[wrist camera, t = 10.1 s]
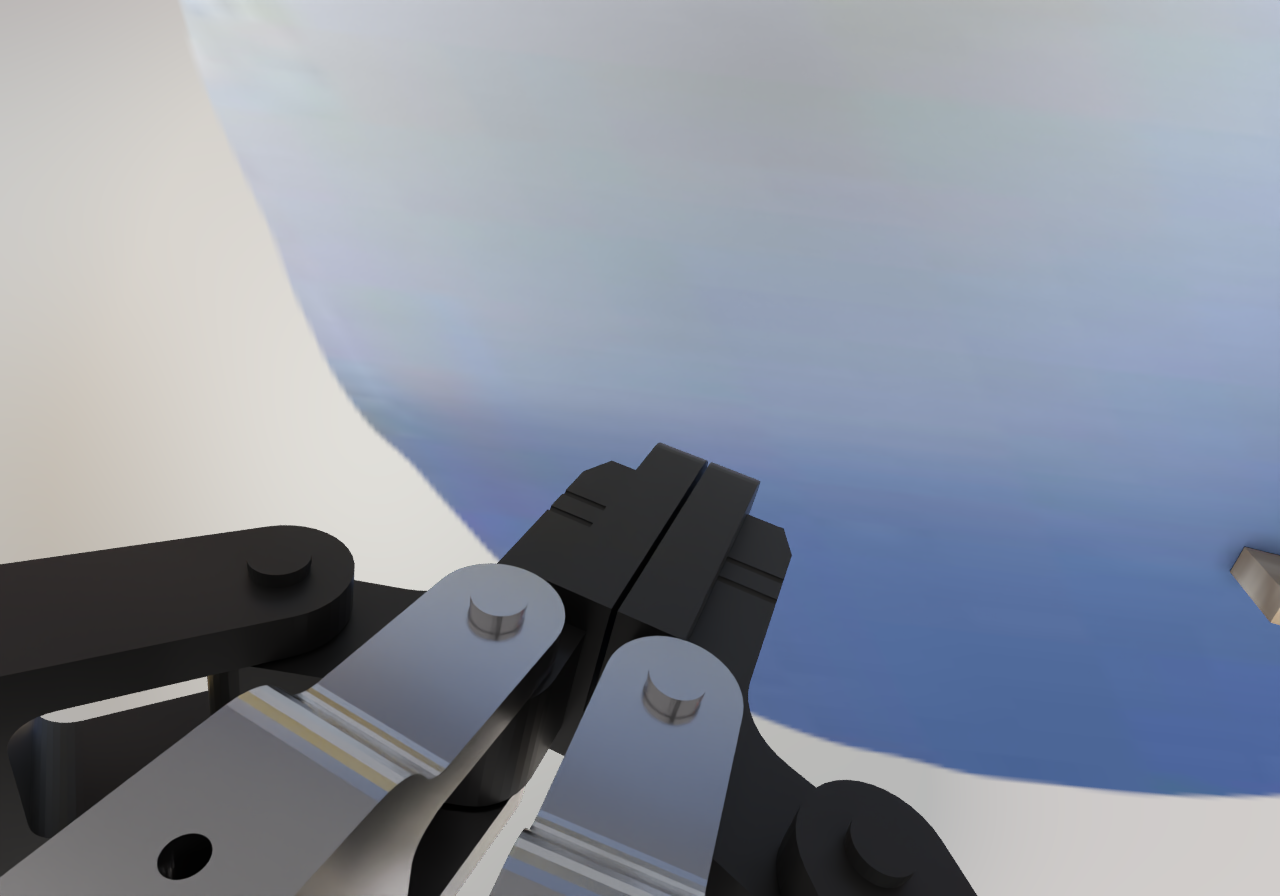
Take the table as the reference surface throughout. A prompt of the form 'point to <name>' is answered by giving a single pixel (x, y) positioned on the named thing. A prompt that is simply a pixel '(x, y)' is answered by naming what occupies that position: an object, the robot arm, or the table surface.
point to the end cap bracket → (1260, 580)
